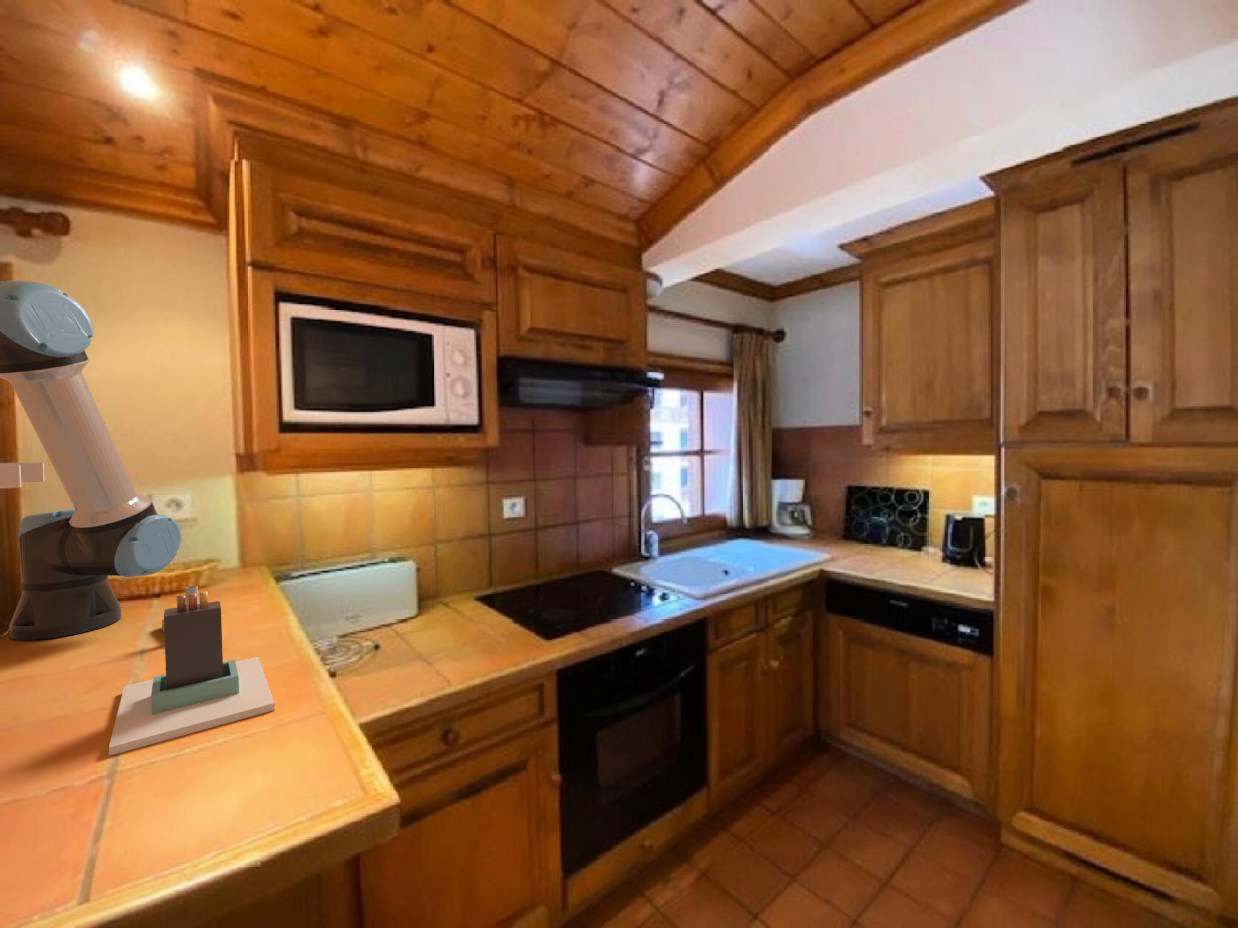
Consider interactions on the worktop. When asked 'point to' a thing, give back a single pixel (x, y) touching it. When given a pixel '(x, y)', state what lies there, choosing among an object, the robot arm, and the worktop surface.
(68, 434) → the robot arm
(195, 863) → the worktop surface
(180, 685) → the block
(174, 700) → the header board
